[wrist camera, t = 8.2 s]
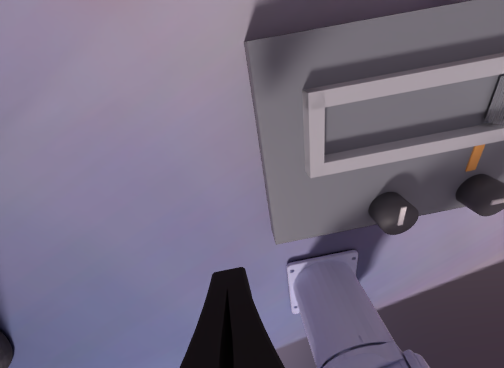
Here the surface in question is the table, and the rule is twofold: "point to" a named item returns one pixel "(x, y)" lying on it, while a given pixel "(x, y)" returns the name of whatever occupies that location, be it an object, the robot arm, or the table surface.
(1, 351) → the planter
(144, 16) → the table surface
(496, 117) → the fader tab
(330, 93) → the console board
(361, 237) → the table surface
